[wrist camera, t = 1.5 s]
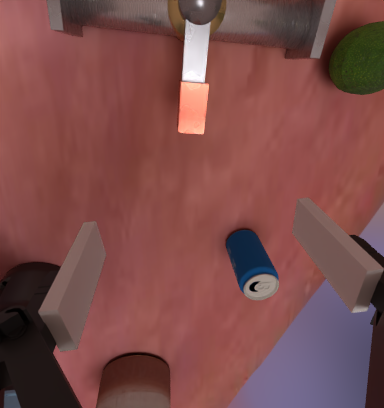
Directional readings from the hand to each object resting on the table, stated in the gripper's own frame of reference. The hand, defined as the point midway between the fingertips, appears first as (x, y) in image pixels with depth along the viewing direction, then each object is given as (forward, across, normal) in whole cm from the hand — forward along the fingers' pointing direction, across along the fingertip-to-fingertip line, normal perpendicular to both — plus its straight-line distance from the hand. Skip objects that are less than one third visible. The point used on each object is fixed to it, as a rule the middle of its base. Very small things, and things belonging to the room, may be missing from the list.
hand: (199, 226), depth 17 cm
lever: (+18, +2, +10) cm, 20 cm away
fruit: (+26, +24, +8) cm, 36 cm away
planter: (+26, -18, -62) cm, 70 cm away
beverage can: (+26, +10, -22) cm, 35 cm away
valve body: (+25, +3, +14) cm, 29 cm away
